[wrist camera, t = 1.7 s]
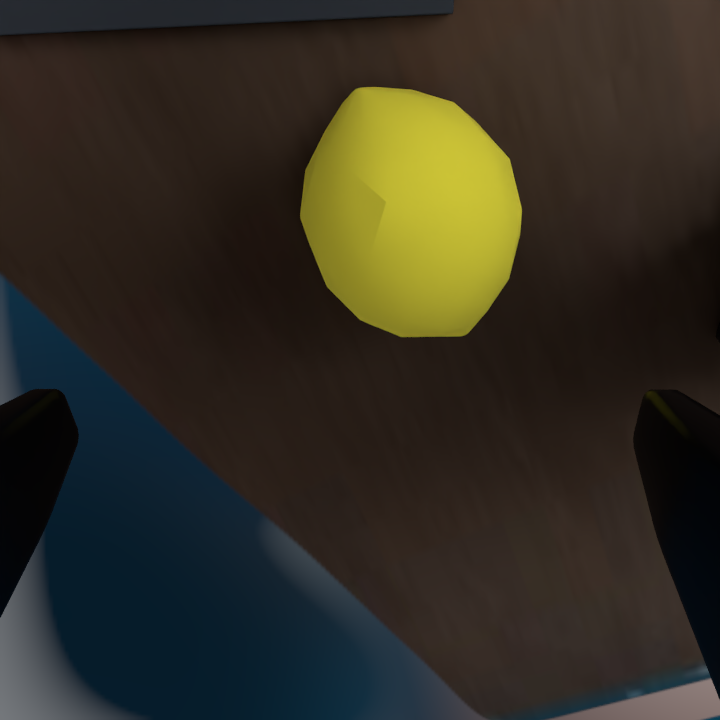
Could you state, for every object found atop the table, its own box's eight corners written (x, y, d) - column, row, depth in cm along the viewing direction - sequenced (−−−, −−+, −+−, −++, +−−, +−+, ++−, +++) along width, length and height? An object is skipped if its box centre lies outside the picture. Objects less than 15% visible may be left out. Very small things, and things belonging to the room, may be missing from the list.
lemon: (273, 115, 17) (226, 170, 12) (459, 23, 15) (484, 47, 11) (375, 319, 20) (368, 421, 16) (535, 260, 19) (579, 354, 14)
